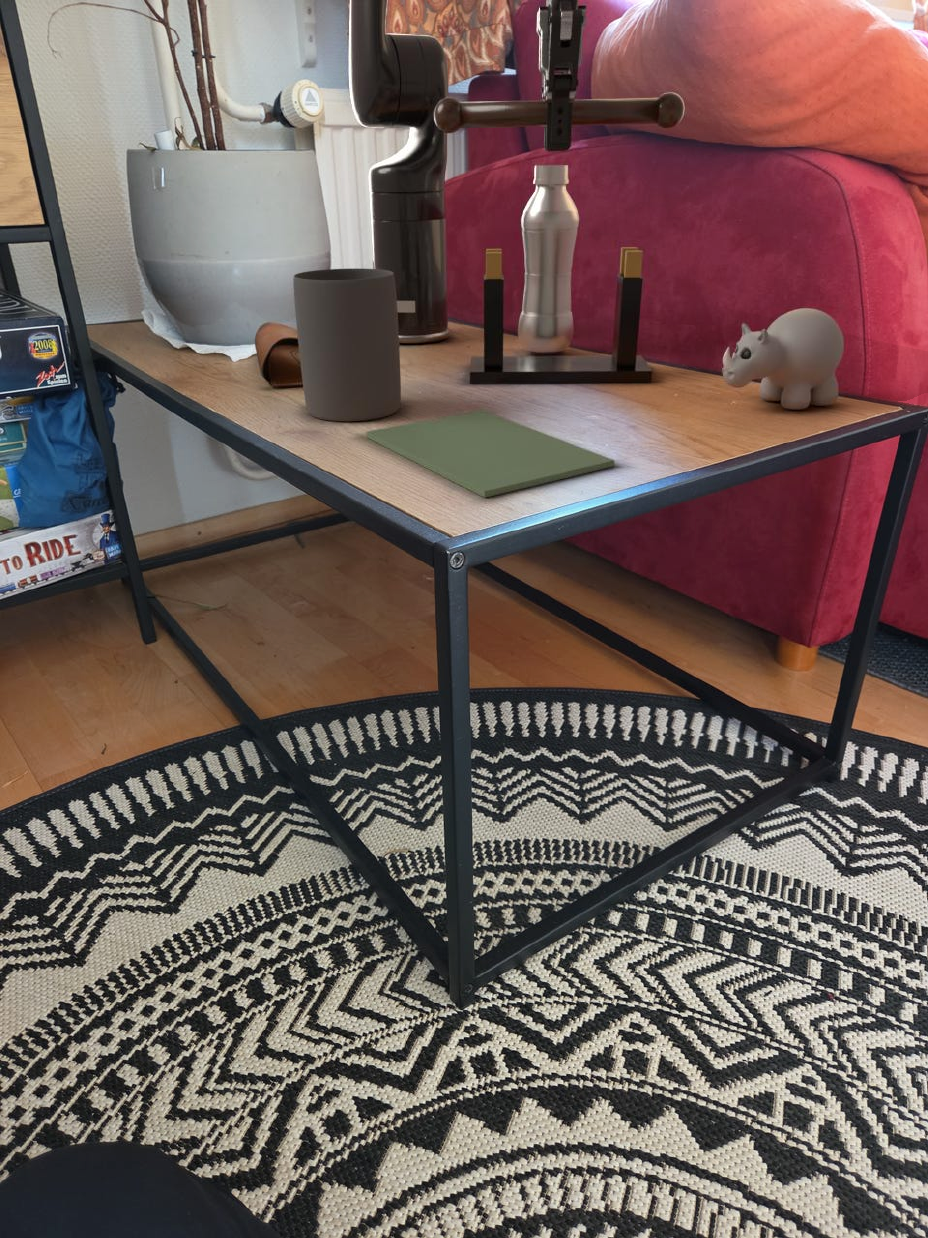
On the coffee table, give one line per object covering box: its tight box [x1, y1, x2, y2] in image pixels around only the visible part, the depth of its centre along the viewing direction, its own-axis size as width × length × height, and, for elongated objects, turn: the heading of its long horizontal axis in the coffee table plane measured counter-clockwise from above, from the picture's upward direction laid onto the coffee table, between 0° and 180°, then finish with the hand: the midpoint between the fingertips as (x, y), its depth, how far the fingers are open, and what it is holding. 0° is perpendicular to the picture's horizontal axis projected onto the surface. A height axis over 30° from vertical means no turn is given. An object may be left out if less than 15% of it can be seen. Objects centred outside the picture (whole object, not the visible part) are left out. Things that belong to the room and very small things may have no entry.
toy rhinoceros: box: [721, 307, 845, 411], centre depth 78 cm, size 7×12×8 cm, turn 108°
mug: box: [292, 268, 402, 422], centre depth 80 cm, size 14×9×12 cm
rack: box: [469, 246, 653, 384], centre depth 90 cm, size 8×19×12 cm, turn 88°
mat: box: [365, 410, 615, 499], centre depth 69 cm, size 18×12×1 cm, turn 33°
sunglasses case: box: [254, 321, 303, 388], centre depth 96 cm, size 18×7×7 cm
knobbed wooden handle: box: [434, 91, 685, 134], centre depth 77 cm, size 3×22×3 cm, turn 89°
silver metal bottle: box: [517, 164, 580, 355], centre depth 98 cm, size 6×7×20 cm
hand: (557, 149), depth 78 cm, fingers closed on knobbed wooden handle, 2 cm apart
